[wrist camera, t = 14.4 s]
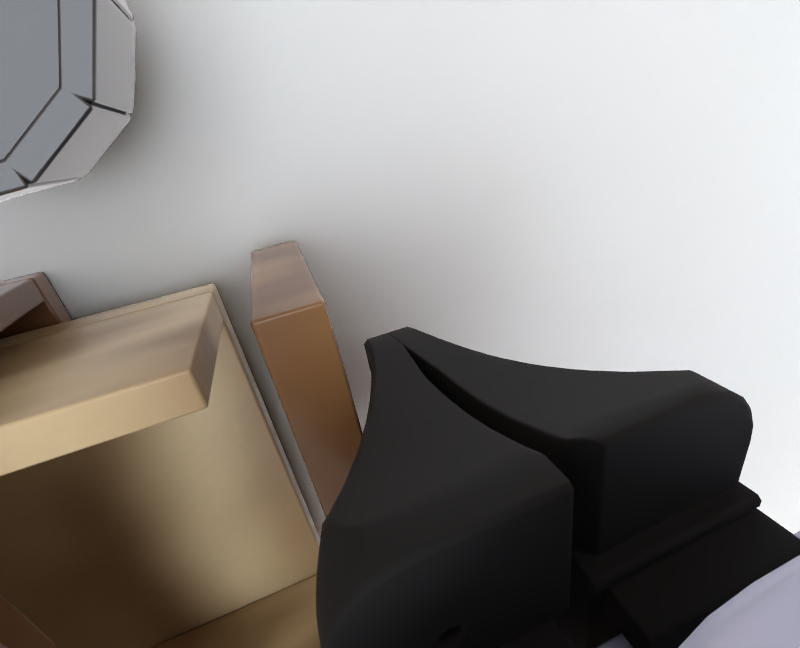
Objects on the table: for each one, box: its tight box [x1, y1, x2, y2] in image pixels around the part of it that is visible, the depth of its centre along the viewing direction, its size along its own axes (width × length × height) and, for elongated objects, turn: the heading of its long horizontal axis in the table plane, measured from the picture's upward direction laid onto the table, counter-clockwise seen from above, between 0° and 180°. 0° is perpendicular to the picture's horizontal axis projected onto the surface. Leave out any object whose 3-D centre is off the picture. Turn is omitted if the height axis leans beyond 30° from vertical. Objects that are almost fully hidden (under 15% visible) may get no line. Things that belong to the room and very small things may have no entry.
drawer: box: [0, 241, 363, 648], centre depth 10 cm, size 12×13×5 cm
